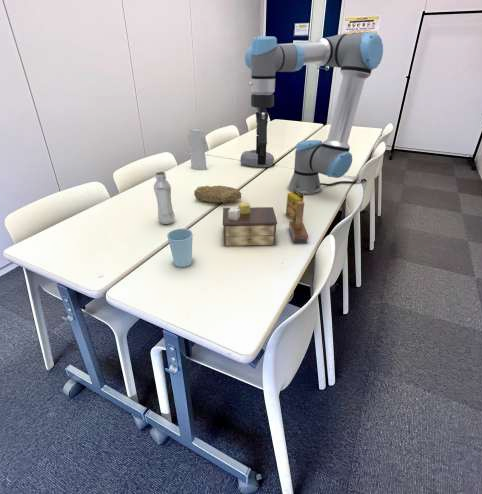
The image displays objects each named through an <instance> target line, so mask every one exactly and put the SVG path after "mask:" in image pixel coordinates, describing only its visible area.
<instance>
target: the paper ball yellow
mask: <svg viewBox="0 0 482 494" xmlns="http://www.w3.org/2000/svg"><path fill="white" fill-rule="evenodd" d="M238 208H239V209H240V213H241V214H247V213H250V208H251V204H250V202H248V201H242V202H239V203H238Z"/></svg>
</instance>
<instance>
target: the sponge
mask: <svg viewBox="0 0 482 494" xmlns="http://www.w3.org/2000/svg"><path fill="white" fill-rule="evenodd" d="M193 195H194V197H195V199H196V200H199V201H203V202H210V203H216V204H220V203H222V204H223V203H230V202H235V201H239V200H241V199H242V192H241V191H240V190H239V189H238V188H234V187H230V186H226V185H213V186H209V185H204V186H203V185H202V186H197V187H196V189H195V190H194V191H193Z"/></svg>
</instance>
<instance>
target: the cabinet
mask: <svg viewBox="0 0 482 494" xmlns="http://www.w3.org/2000/svg"><path fill="white" fill-rule="evenodd" d="M231 208H232V207H222V227H223V228H222V229H223V246H224V247H228V246H230V247H231V246H232V247H233V246H234V247H237V246H276V238H277V237H276V236H277V225H278V221H277V216H276V213H275V209H274V207H273V206H262V207H261V206H260V207H257V206H256V207H255V206H253V207H251V206H250V213H247V214H241V213H240V217H239V219H238V220H230V219H228V211H229V209H231ZM236 208H237V209H239V207H236Z"/></svg>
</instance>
